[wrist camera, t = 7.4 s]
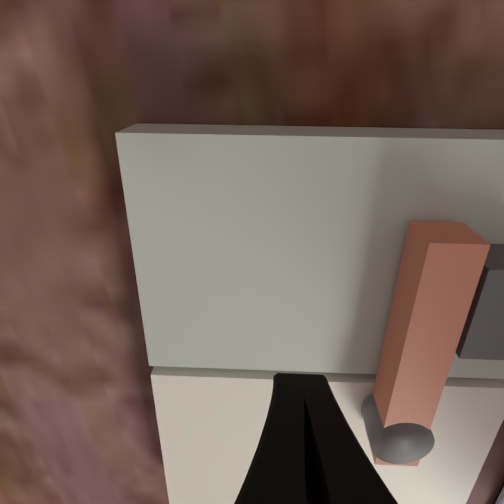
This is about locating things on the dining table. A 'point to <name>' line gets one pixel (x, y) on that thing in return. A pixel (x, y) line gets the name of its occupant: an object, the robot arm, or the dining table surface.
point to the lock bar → (421, 338)
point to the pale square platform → (303, 285)
